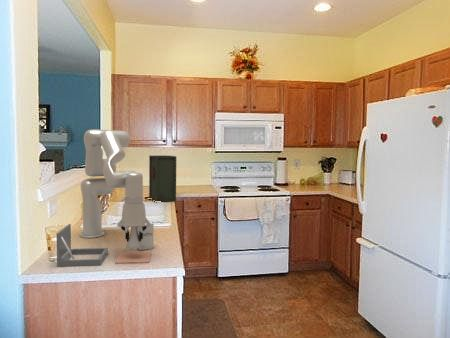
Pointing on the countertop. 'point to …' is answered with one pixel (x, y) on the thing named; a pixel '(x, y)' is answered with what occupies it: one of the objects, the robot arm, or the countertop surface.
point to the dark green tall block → (162, 178)
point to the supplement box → (147, 237)
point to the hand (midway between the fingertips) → (134, 240)
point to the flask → (134, 239)
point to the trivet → (133, 257)
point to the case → (75, 251)
